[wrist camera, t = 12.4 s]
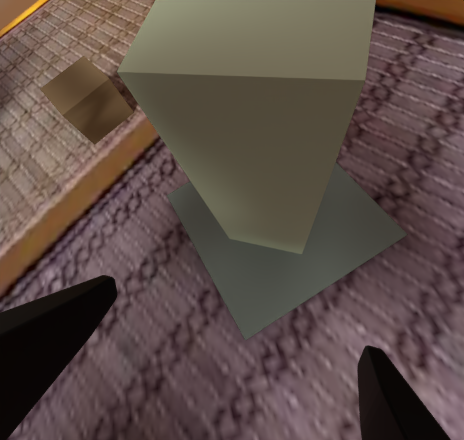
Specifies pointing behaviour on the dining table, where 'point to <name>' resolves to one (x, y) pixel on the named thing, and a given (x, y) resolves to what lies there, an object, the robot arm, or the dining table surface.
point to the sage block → (253, 103)
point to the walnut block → (87, 100)
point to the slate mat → (287, 252)
